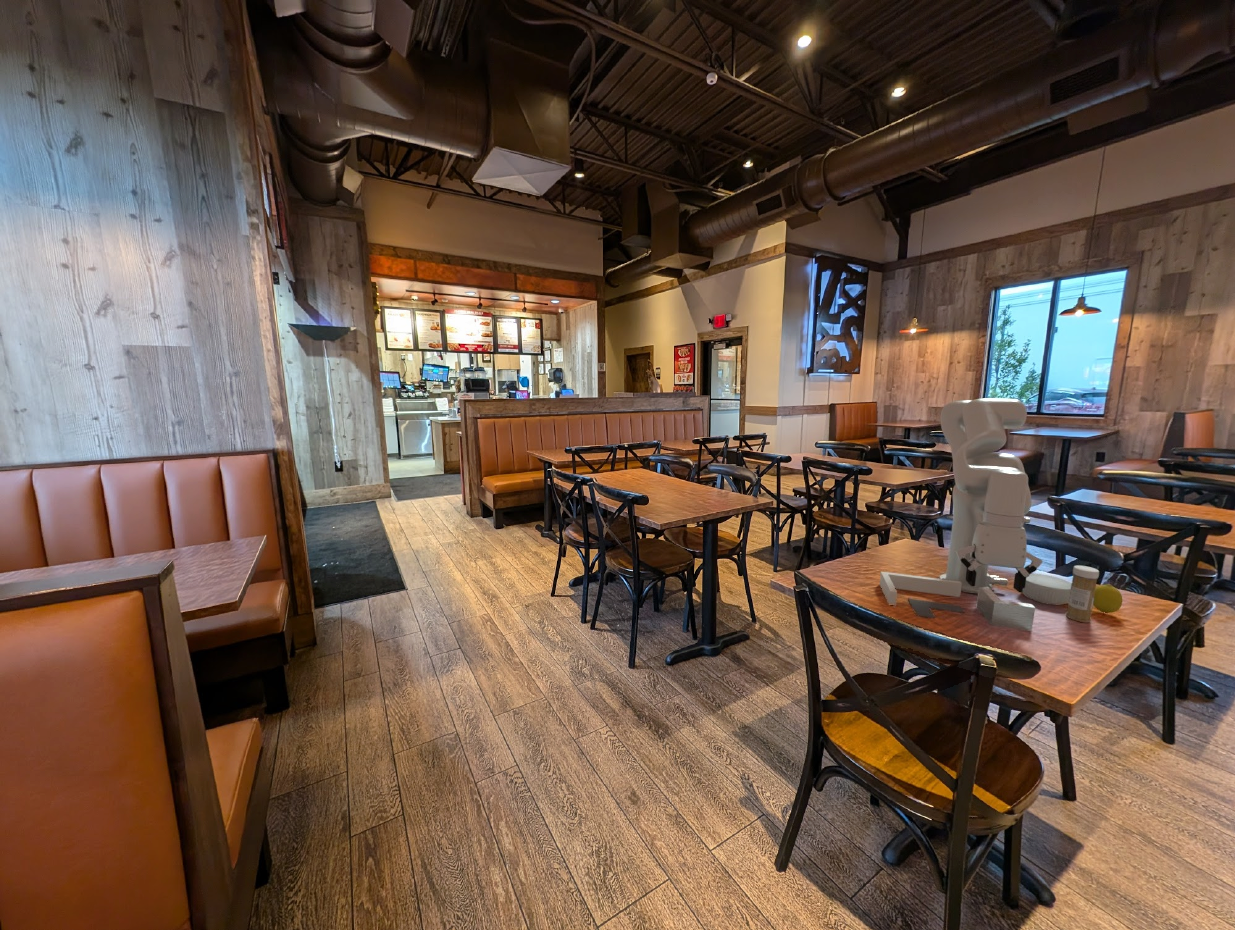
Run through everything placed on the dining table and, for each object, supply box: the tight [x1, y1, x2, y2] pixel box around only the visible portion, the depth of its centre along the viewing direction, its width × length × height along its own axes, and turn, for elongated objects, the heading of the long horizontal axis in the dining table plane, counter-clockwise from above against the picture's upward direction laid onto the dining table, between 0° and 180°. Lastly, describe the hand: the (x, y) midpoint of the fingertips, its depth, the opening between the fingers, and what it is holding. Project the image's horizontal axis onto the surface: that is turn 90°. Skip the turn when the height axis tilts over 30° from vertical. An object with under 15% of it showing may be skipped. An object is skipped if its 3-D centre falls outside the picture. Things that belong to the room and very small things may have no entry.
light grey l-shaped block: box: [879, 571, 962, 607], centre depth 128 cm, size 20×15×4 cm
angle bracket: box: [975, 586, 1036, 632], centre depth 118 cm, size 10×8×6 cm
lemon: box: [1093, 583, 1123, 614], centre depth 121 cm, size 6×6×8 cm
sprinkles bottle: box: [1065, 565, 1100, 623], centre depth 118 cm, size 5×5×14 cm
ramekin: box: [1022, 572, 1072, 605], centre depth 130 cm, size 11×11×5 cm
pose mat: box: [907, 598, 966, 619], centre depth 122 cm, size 12×10×1 cm
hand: (993, 587), depth 117 cm, fingers open, 9 cm apart
